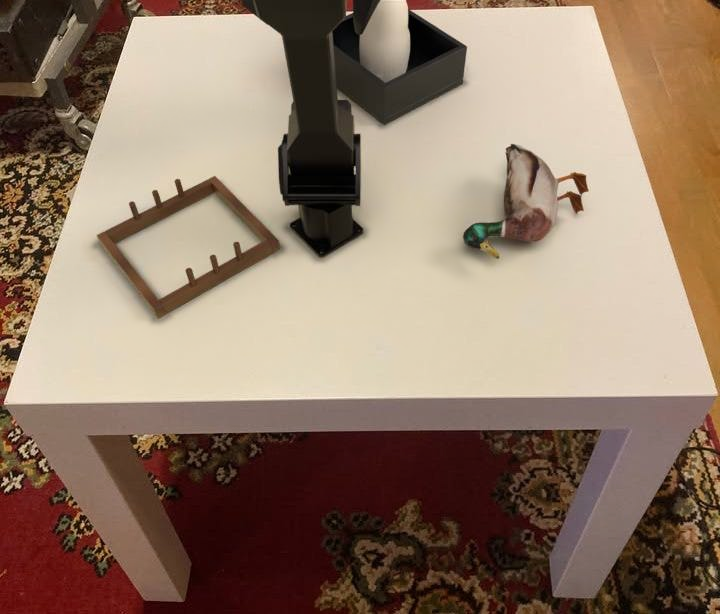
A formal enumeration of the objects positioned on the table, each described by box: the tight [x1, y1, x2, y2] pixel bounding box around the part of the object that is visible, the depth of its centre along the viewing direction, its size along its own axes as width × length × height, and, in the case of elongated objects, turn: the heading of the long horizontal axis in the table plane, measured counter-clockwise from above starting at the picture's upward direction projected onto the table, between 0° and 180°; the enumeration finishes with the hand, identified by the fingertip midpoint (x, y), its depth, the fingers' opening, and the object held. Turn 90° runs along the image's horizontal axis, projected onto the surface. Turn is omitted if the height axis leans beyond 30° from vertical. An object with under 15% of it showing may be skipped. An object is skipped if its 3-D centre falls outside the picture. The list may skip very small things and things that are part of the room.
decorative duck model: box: [462, 143, 590, 260], centre depth 83 cm, size 15×8×15 cm
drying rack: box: [96, 175, 281, 319], centre depth 82 cm, size 14×16×4 cm
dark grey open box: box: [332, 8, 468, 126], centre depth 101 cm, size 17×15×6 cm
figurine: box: [359, 0, 410, 83], centre depth 98 cm, size 7×8×12 cm
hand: (328, 46), depth 86 cm, fingers open, 9 cm apart
